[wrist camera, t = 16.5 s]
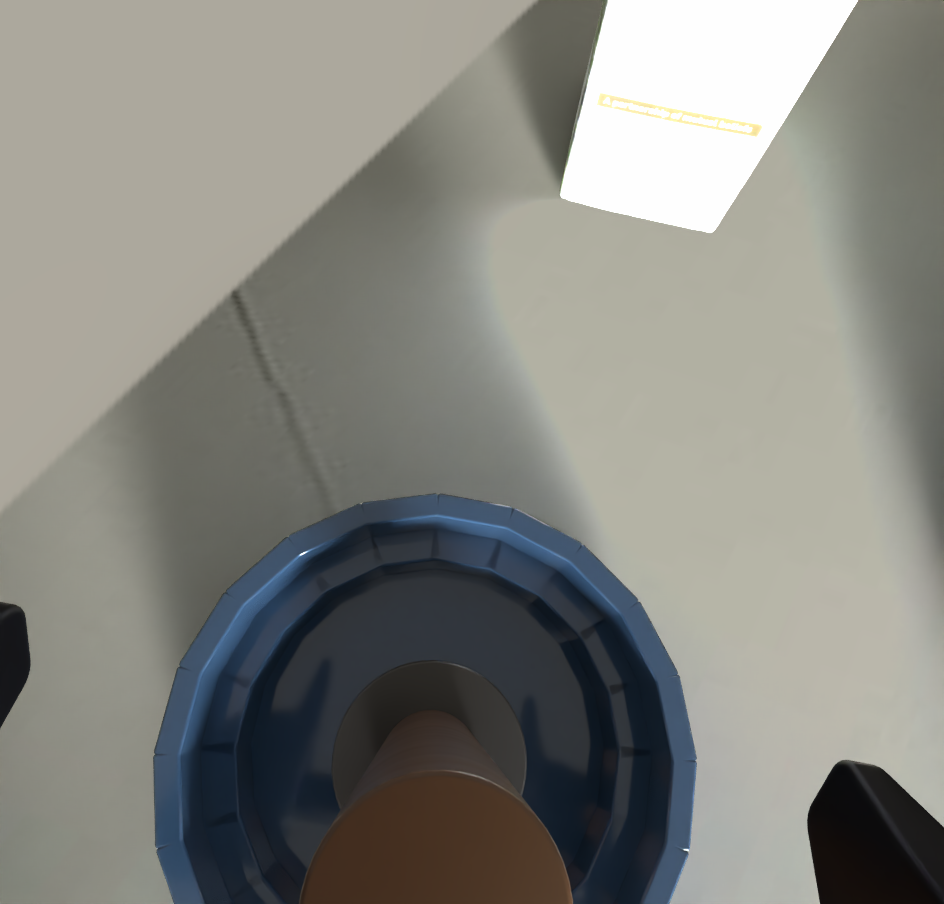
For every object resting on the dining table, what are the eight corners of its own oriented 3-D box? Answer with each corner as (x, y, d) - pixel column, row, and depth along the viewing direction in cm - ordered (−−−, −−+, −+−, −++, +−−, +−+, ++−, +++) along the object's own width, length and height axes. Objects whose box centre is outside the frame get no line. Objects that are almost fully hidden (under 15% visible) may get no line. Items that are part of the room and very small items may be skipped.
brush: (535, 704, 21) (782, 769, 6) (469, 867, 20) (590, 1400, 5) (392, 636, 21) (319, 549, 7) (317, 792, 20) (32, 1098, 5)
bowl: (734, 746, 21) (802, 762, 17) (418, 1119, 18) (415, 1236, 15) (438, 445, 23) (440, 400, 20) (111, 738, 20) (38, 753, 17)
